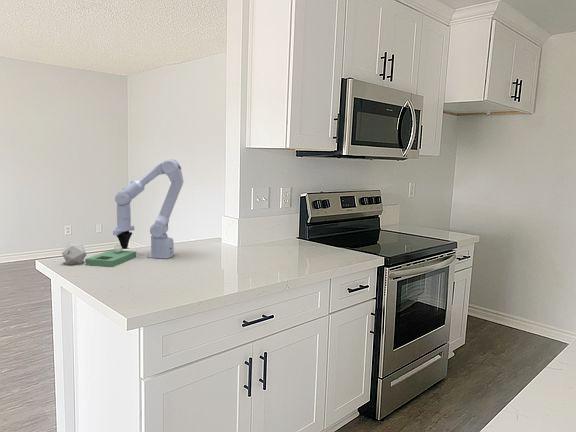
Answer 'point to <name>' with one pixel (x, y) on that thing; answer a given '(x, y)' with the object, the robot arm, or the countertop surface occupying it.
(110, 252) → the green
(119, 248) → the ball
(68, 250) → the die
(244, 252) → the countertop surface
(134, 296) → the countertop surface
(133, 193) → the robot arm
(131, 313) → the countertop surface
